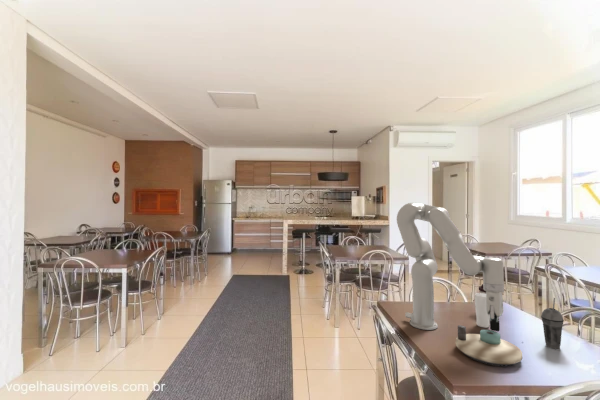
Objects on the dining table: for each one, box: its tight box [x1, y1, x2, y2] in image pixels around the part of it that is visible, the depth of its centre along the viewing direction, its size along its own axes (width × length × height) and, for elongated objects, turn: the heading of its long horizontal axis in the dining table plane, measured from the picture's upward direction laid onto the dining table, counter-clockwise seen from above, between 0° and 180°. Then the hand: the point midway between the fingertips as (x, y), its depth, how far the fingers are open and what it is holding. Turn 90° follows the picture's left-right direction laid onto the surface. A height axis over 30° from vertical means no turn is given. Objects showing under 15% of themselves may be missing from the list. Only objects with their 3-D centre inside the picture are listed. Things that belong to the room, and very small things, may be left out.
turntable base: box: [463, 353, 516, 367], centre depth 118 cm, size 18×18×2 cm
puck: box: [479, 329, 501, 344], centre depth 122 cm, size 7×7×3 cm
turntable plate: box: [455, 325, 523, 365], centre depth 118 cm, size 22×22×6 cm
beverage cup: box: [540, 297, 565, 350], centre depth 124 cm, size 7×7×20 cm
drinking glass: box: [474, 292, 490, 329], centre depth 146 cm, size 7×7×15 cm
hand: (494, 330), depth 129 cm, fingers closed
